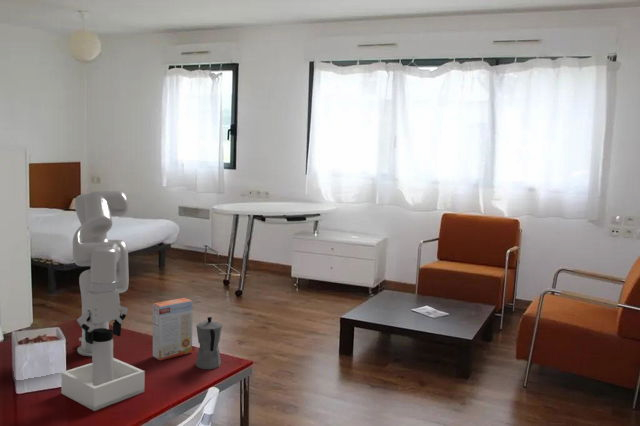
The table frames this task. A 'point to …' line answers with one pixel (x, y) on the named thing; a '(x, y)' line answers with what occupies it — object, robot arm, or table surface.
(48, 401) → the table surface
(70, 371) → the bin
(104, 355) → the travel mug
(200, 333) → the coffeepot
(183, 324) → the cracker box
